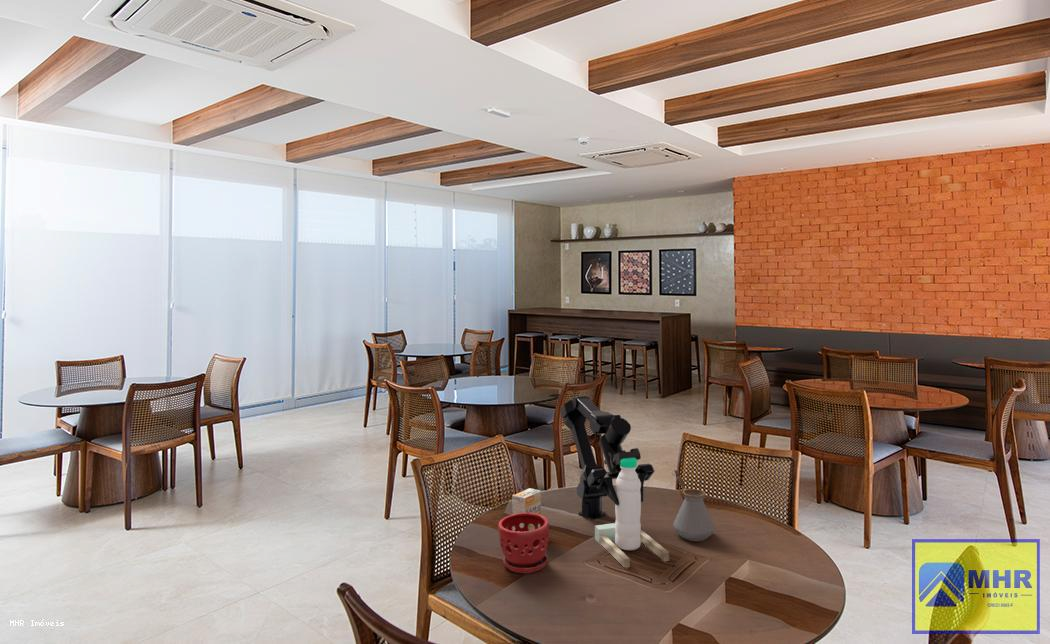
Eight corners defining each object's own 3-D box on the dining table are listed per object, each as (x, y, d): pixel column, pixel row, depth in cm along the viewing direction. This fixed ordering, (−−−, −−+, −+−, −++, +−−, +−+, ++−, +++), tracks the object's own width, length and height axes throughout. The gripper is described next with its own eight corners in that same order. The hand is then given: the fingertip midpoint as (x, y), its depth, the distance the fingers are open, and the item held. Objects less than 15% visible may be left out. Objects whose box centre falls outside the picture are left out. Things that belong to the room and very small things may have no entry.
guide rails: (599, 543, 170) (599, 534, 169) (640, 537, 173) (640, 529, 173) (624, 568, 154) (624, 559, 154) (669, 561, 158) (669, 552, 158)
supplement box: (525, 543, 170) (524, 498, 169) (512, 539, 173) (511, 494, 172) (542, 533, 177) (541, 490, 176) (529, 529, 180) (528, 487, 179)
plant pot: (520, 550, 166) (520, 508, 165) (559, 563, 157) (558, 519, 157) (488, 567, 156) (488, 522, 155) (527, 583, 147) (527, 535, 147)
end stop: (595, 539, 172) (594, 525, 172) (635, 533, 176) (635, 520, 176) (599, 543, 170) (599, 529, 169) (640, 537, 173) (640, 524, 173)
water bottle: (640, 552, 162) (641, 462, 161) (614, 550, 164) (614, 460, 162) (640, 541, 169) (641, 454, 168) (615, 539, 171) (616, 453, 169)
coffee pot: (721, 543, 169) (721, 490, 168) (681, 545, 168) (682, 492, 167) (692, 514, 190) (692, 468, 189) (657, 516, 189) (657, 469, 188)
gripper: (591, 441, 166) (607, 493, 156) (651, 435, 171) (671, 486, 161) (580, 460, 174) (595, 512, 164) (638, 455, 179) (656, 504, 169)
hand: (630, 503), depth 164 cm, fingers closed on water bottle, 7 cm apart
